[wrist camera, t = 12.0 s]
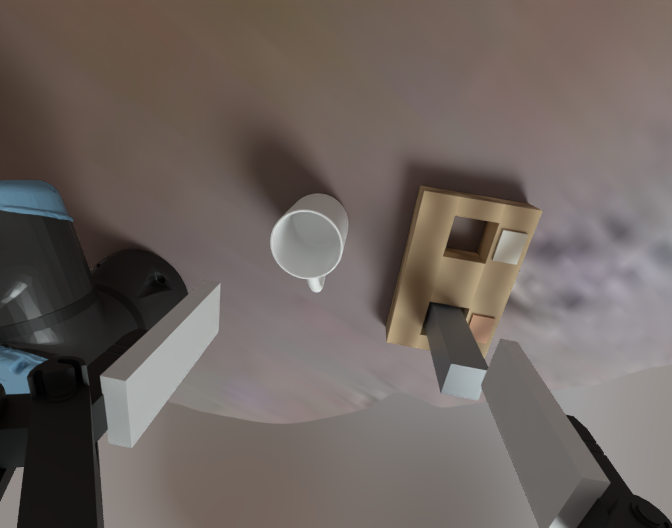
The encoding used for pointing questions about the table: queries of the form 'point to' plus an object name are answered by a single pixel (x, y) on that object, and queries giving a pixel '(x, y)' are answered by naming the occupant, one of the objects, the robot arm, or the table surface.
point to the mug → (310, 238)
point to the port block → (459, 264)
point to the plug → (454, 351)
